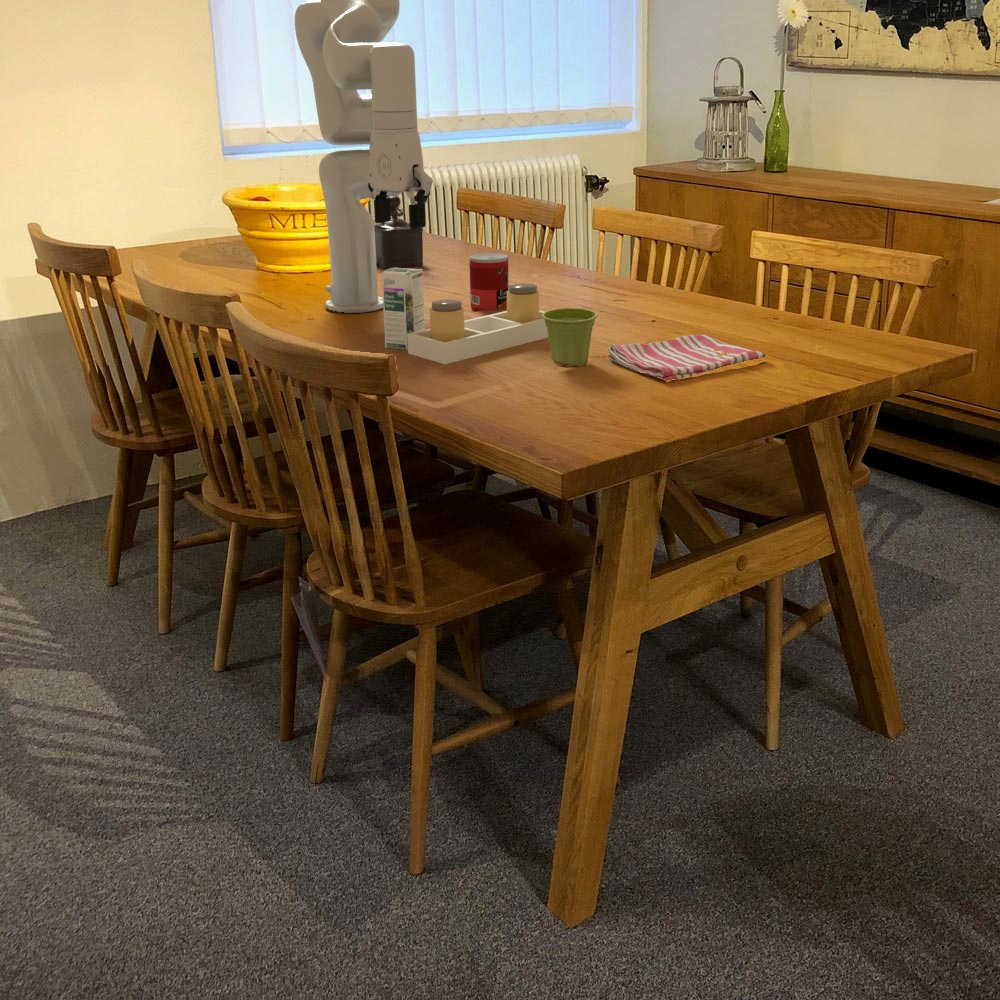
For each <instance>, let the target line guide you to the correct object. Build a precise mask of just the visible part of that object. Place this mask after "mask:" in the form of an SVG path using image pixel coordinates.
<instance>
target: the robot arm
mask: <svg viewBox="0 0 1000 1000" xmlns="http://www.w3.org/2000/svg"><path fill="white" fill-rule="evenodd" d="M400 8H401V7H400V0H307V1H304V2H302V3H301V4H299V5H298V7H297V8H296V10H295V14H294V31H295V37H296V40H297V43H298V44H297V45H298V47H299V51H300V53H301V55H302V58H303V60H304V62H305V64H306V66H307V68H308V71H309V74H310V76H311V81H312V85H313V93H314V101H315V107H316V113H317V118H318V119H317V120H318V126H319V129H320V134H321V136H322V139H323V140H324V141H325V142H326V143H327V144H328V145H329V144H330V145H332V146H357V145H358V146H360V145H369V149H349V150H348V149H347V150H345V149H344V150H336V151H333V152H330V153H327V154H326V155H325V156H323V157H322V158H321V160H320V162H319V166H318V175H319V180H320V181H319V182H320V184H321V185H320V186H321V191H322V195H323V200H324V207H325V213H326V225H327V226H326V227H327V235H328V250H329V264H330V265H329V266H330V267H329V268H330V279H331V283H330V284H329V285H326V286H325V289H324V290H325V291H326V292H327V293H330V299H327V300H326V301H325V308H326V309H327V308H328V309H330V310H333V311H332V312H334V311H337V312H336V313H341V312H344V313H345V314H352V313H353V314H358V313H359V314H360V313H368V312H369V313H370V312H375V311H378V310H381V309H384V308H383V296H382V297H381V296H379V292H378V289H379V288H378V287H379V285H378V272H377V270H378V267H377V266H376V248H375V231H374V225H375V223H376V224H380V223H383V222H389V221H391V218H392V216H391V209H390V198H387V197H392V196H399V195H401V194H403V193H405V194H406V195H407V198H408V200H409V202H410V203H411V204H408V218H409V219H408V220H409V221H408V223H409V225H410V228H412V229H415V228H425V227H426V225H427V217H426V216H427V215H426V204H428V200H429V199H428V198H429V197H430V195H431V188H432V187H433V186H432V185H433V183H434V182H433V181H434V180H433V178H432V177H431V176H430V175H429V174H428V173H427V172H425V170H424V157H423V151H422V143H421V137H420V134H419V131H418V128H419V127H418V112H417V111H418V107H417V87H416V86H417V83H416V62H415V61H416V60H415V59H416V57H415V52H414V49H413V47H411V46H410V45H409V44H404V43H401V42H400V43H399V42H382V41H383V40H384V39H385V37H387V36H388V34H389V32H390V31H391V30H392V28H393V27H394V25H395V24H396V22H397V20H398V17H399V15H400ZM359 90H361V91H363V90H370V92H371V94H360V93H359V92H358V91H359ZM415 193H416V194H415ZM367 199H372V200H373V210H374V213H373V215H374V219H373V217H372V215H371V213H370V212H369V211H368V210H367V209H366V208H365V207H364V205H363V204H362V203H361V201H362V200H367ZM328 309H327V310H328ZM330 310H329V311H330Z"/></svg>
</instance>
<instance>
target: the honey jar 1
mask: <svg viewBox="0 0 1000 1000" xmlns="http://www.w3.org/2000/svg"><path fill="white" fill-rule="evenodd" d="M464 321H465V308H464V306H462V301H461V300H457V299H438V300H434V301H432V302H431V307H430V308H429V329H430V332H431V339H434V340H438V341H441V342H449V341H453V340H457V339H461V338H465V331H464Z"/></svg>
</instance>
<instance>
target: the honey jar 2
mask: <svg viewBox="0 0 1000 1000" xmlns="http://www.w3.org/2000/svg"><path fill="white" fill-rule="evenodd" d="M506 311H507V320H510V321H514V322H519V323H527V322H531V321H535V320H539V311H540V291H539V289H538V286H537V285H536V284H534V283H525V282H524V283H514V284H509V285H508V291H507V307H506Z"/></svg>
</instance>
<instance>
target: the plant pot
mask: <svg viewBox="0 0 1000 1000" xmlns="http://www.w3.org/2000/svg"><path fill="white" fill-rule="evenodd" d="M542 317H543V318H544V319H545V325H546V326H547V330H548V342H549V349H550V357H551V360H552V361H553V362H555V363H559V364H563V365H560V367H561V368H570V367H572V366H576V367H582V366H584V365H586V364H588V359H589V353H590V345H591V339H592V332H593V327H594V325H595V320H596V319H597V318H598V312H596V311H594V310H591V309H587V308H579V307H562V308H554V309H549V310H546V311H544V313H543V314H542Z"/></svg>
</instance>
